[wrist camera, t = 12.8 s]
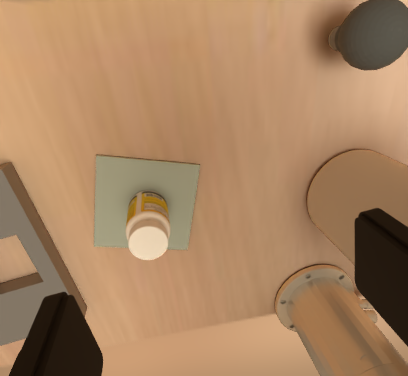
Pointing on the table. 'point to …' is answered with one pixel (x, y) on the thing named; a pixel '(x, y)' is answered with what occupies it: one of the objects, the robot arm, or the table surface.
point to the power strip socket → (40, 256)
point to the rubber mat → (136, 182)
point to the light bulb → (372, 34)
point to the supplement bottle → (147, 225)
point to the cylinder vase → (356, 194)
